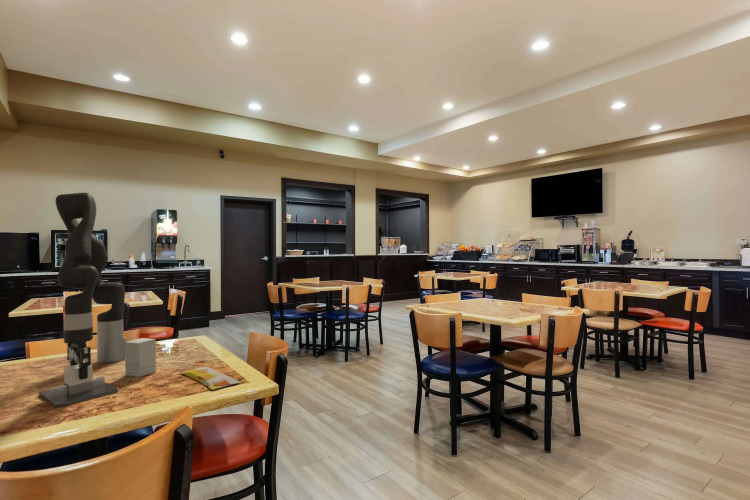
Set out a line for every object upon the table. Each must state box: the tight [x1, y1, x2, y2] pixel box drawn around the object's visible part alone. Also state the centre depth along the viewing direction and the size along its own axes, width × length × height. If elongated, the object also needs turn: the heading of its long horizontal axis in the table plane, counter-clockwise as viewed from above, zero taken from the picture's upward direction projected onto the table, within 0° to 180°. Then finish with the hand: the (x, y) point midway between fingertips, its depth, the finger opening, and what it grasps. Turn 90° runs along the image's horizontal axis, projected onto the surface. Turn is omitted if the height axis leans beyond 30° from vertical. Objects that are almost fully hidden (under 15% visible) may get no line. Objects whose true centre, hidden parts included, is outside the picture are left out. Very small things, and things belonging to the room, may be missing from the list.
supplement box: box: [124, 337, 157, 378], centre depth 144 cm, size 7×7×13 cm
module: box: [63, 364, 93, 395], centre depth 124 cm, size 6×6×8 cm
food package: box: [180, 366, 240, 390], centre depth 138 cm, size 27×2×10 cm
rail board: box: [38, 376, 118, 409], centre depth 124 cm, size 16×18×4 cm
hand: (78, 376), depth 124 cm, fingers open, 8 cm apart
